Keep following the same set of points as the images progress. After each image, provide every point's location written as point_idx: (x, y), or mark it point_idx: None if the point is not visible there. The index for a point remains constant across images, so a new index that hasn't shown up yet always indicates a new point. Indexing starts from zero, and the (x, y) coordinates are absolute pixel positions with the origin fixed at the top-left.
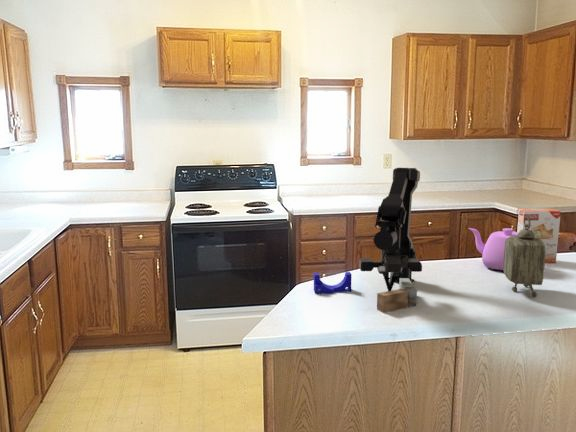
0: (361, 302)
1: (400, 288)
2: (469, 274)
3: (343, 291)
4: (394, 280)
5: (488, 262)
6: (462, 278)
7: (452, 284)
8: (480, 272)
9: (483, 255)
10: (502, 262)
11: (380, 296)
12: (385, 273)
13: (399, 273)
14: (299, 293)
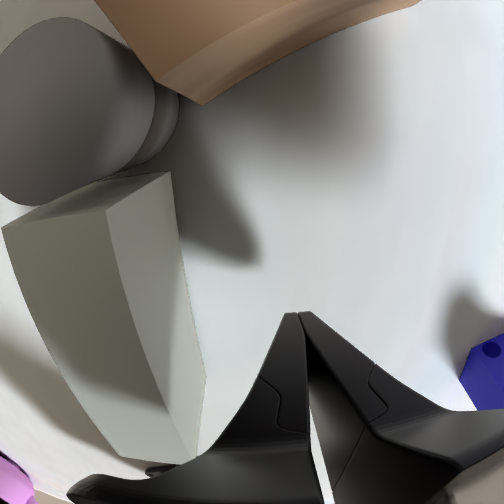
0: (489, 165)
1: (189, 371)
2: (29, 459)
3: (498, 337)
4: (258, 396)
5: (7, 473)
6: (27, 447)
7: (23, 422)
8: (18, 458)
9: (18, 491)
10: None
11: None
12: (498, 429)
13: (142, 492)
14: None
